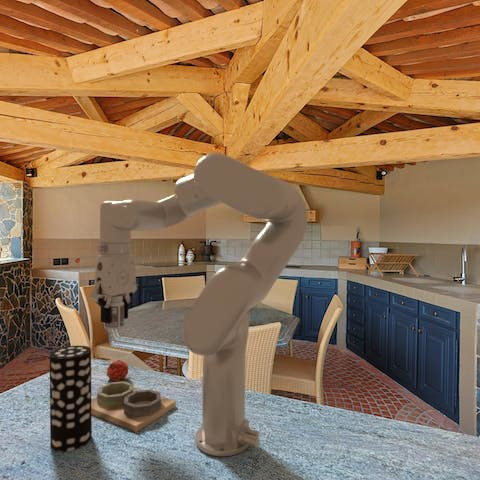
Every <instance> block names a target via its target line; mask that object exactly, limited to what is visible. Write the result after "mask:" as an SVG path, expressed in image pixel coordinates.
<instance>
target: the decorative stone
mask: <svg viewBox="0 0 480 480" xmlns="http://www.w3.org/2000/svg"><path fill="white" fill-rule="evenodd" d="M128 374H129V365H127V363H126V362H125V361H122V360H119V359H118V360H115V361H114V362H111V363H110V364H109V366H108V367H107V370H106V377H108V379H110V380H111V381H112V382H121V381H123V380H124V379H126V377H127V375H128Z"/></svg>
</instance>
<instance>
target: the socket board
mask: <svg viewBox="0 0 480 480" xmlns="http://www.w3.org/2000/svg"><path fill="white" fill-rule="evenodd" d="M176 401H177V400H173V399H170V398H167V397H164V396H162V395H161V392H159V391H157V390H154V389H139V388H136V387H134V384H133V383H131V382H127V381H125V380H124V381H123V380H121V381H118V382H115V381H112V382H108V383H106V384H104V385H102V386H100V387H98V390H97V393H96V396H95V397H94V398H93V397H92V398H91V412H92V415H93V416H95V417H97V418H100V419H102V420H105V421H107V422H110V423H112V424H115V425H117V426H119V427H122V428H124V429H127V430H130V431H132V432H134V433H137V432H139V431H140V430H142V429H143V428H145V427H147V426H148V425H150V424H151V423H153V422H154V421H156V420H157V419H159V418H161V417H163V416H164V415H165V414H167V413H168V412H170V411H172V410H173V409H174V408H176V407H177V402H176Z"/></svg>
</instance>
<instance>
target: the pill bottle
mask: <svg viewBox="0 0 480 480" xmlns="http://www.w3.org/2000/svg"><path fill="white" fill-rule="evenodd" d="M123 295H124V294H123ZM123 295H122V294H121V295H116V296H112V297H111V302H110V306H109V307H111V308H112V319H111V323H109V324H108V323H104V328H105V329H107V330H118V329H122V328H124V326H125V319H124V302H123V301H122V300H123Z"/></svg>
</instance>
